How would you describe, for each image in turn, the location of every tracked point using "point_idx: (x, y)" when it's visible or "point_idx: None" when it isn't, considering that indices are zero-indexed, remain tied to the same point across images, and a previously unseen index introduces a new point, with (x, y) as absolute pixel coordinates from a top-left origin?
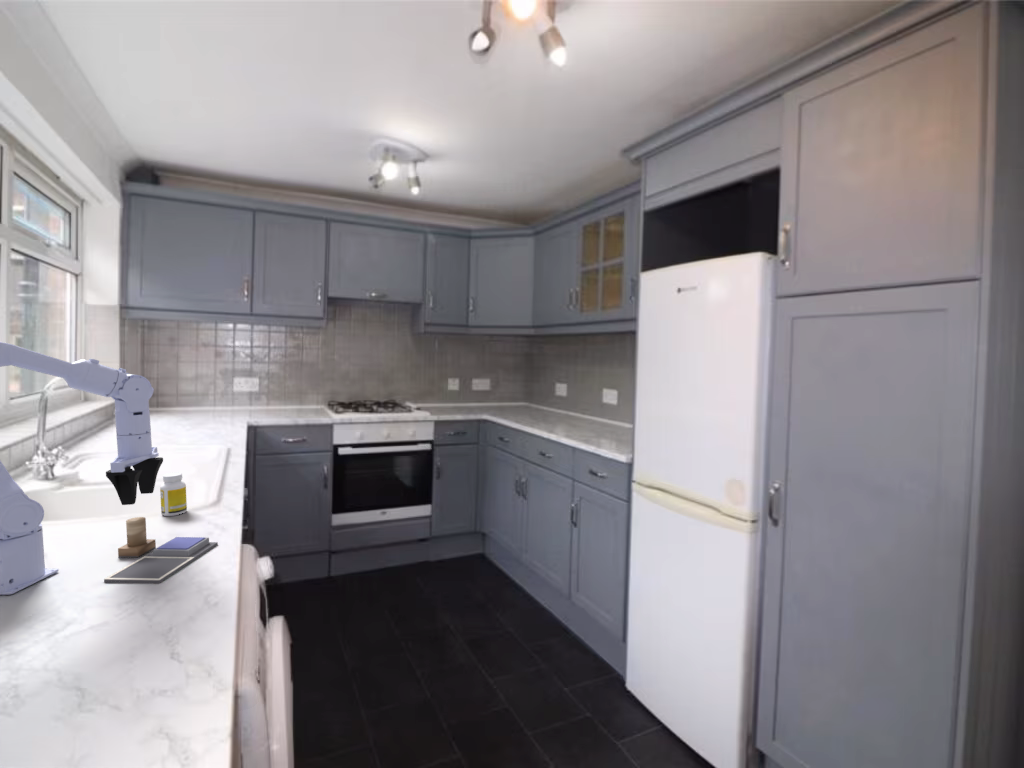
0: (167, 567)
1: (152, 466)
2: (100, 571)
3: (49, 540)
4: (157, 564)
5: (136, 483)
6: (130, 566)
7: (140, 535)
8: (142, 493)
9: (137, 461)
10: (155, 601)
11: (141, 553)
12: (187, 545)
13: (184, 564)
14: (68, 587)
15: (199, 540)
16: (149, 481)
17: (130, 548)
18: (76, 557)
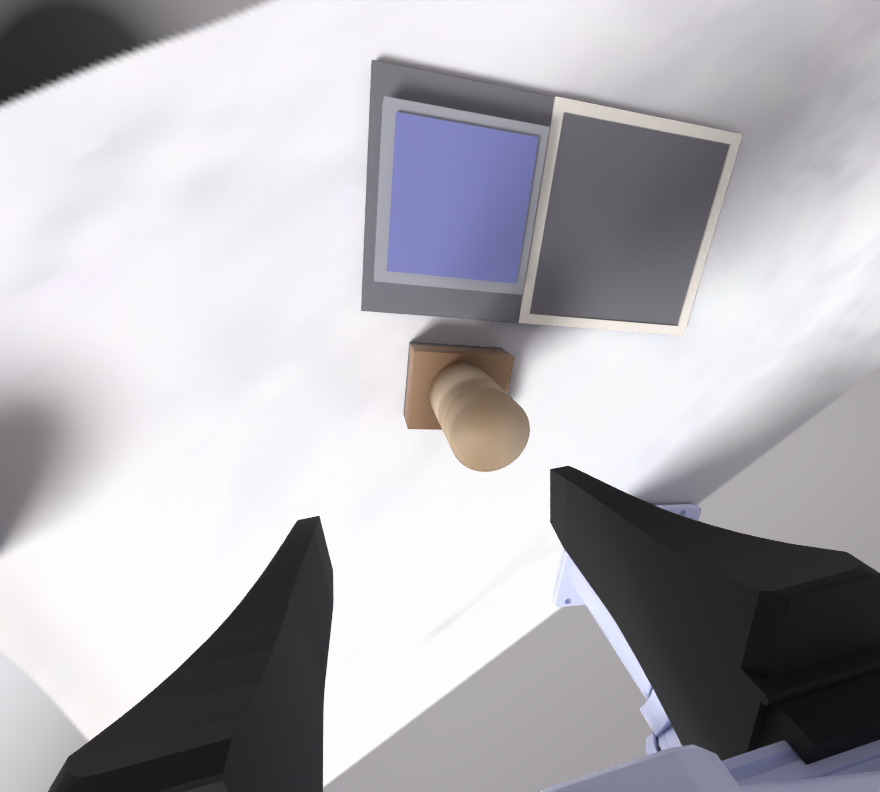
0: (635, 167)
1: (273, 725)
2: (591, 399)
3: (328, 702)
4: (599, 225)
5: (666, 529)
6: (596, 317)
7: (491, 379)
8: (330, 565)
9: (876, 773)
10: (862, 73)
11: (489, 349)
12: (501, 155)
13: (614, 109)
14: (682, 408)
15: (439, 123)
16: (306, 596)
17: (506, 387)
18: (471, 539)
